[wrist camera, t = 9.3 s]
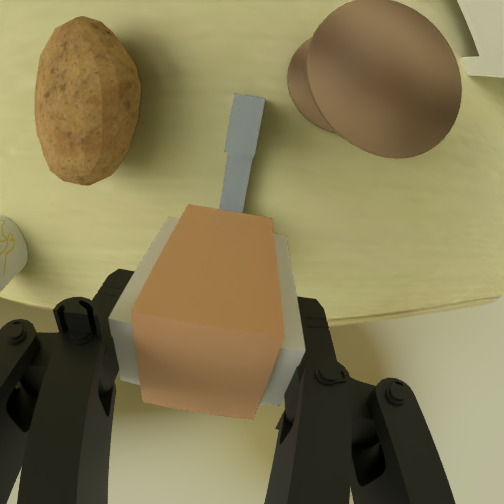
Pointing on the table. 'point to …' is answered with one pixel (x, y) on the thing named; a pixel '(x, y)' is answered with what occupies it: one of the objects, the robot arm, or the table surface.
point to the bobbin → (378, 79)
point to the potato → (85, 101)
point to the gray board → (240, 149)
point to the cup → (11, 251)
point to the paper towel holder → (485, 36)
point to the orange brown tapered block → (210, 315)
